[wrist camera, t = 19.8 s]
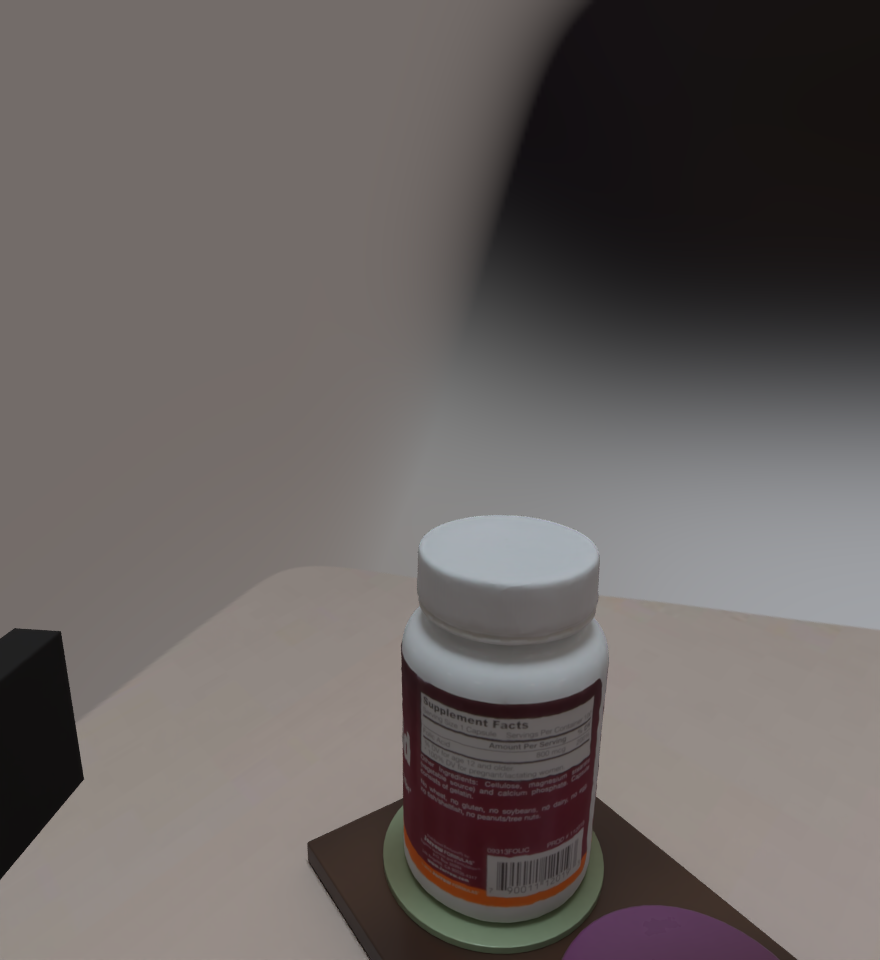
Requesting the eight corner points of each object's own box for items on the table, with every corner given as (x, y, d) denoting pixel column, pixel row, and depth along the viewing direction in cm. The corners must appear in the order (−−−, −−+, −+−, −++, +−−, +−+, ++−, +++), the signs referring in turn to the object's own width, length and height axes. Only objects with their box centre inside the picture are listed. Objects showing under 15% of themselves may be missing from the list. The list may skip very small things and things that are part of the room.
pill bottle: (441, 767, 21) (445, 499, 19) (602, 811, 20) (631, 524, 17) (368, 891, 17) (363, 566, 15) (567, 961, 15) (598, 609, 13)
